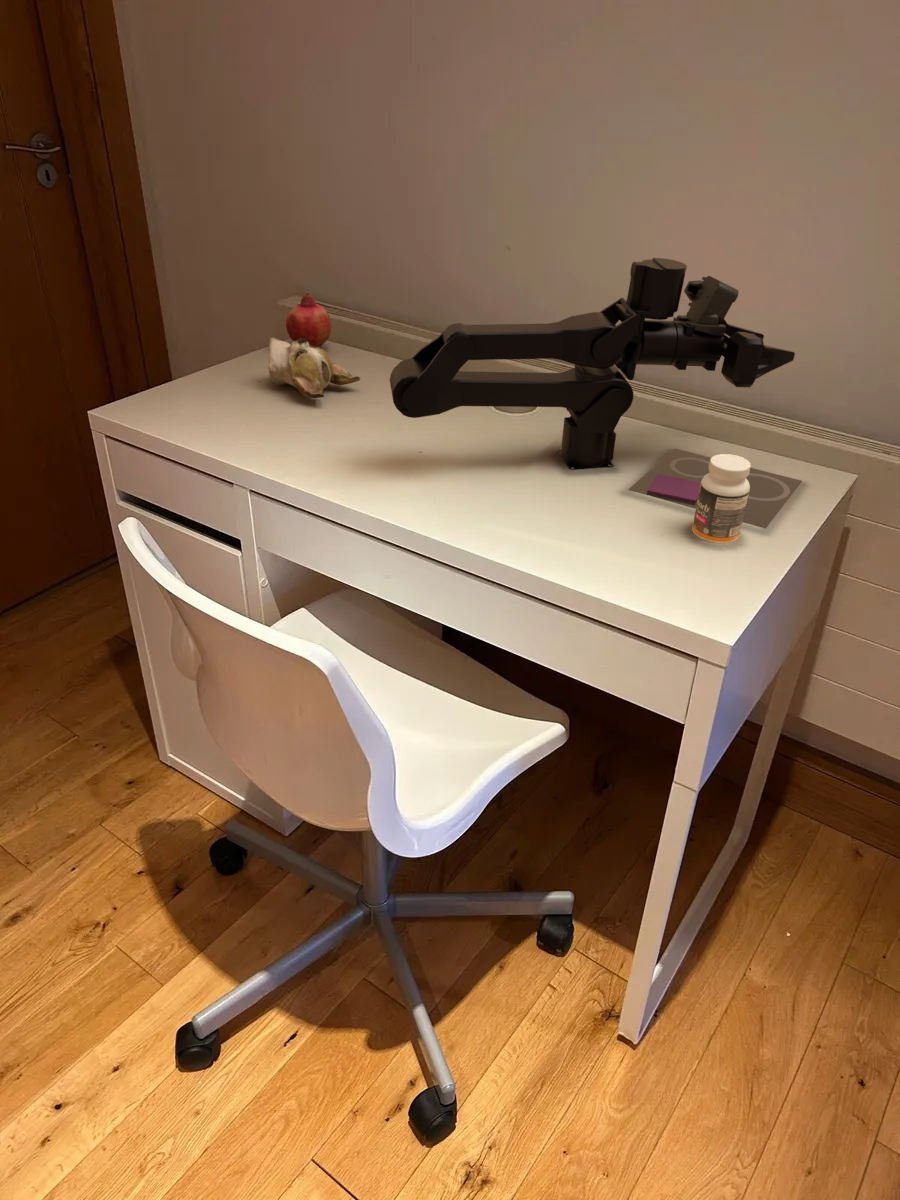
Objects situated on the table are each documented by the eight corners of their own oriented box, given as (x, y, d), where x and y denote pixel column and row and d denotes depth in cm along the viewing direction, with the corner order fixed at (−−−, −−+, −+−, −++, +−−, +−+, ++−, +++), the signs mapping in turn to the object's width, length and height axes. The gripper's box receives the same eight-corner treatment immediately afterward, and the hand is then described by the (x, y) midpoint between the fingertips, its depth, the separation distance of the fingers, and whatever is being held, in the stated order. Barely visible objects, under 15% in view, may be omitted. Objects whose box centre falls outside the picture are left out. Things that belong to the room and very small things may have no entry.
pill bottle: (685, 525, 117) (698, 451, 112) (729, 524, 118) (745, 451, 112) (699, 547, 112) (714, 472, 107) (745, 546, 113) (762, 471, 107)
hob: (764, 532, 116) (765, 528, 116) (627, 493, 124) (627, 489, 124) (801, 484, 128) (802, 480, 127) (673, 451, 136) (674, 447, 136)
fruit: (342, 349, 171) (339, 293, 165) (309, 359, 165) (306, 302, 160) (311, 339, 175) (308, 285, 169) (278, 349, 170) (274, 293, 164)
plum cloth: (695, 503, 121) (695, 500, 121) (646, 492, 123) (647, 490, 123) (704, 486, 125) (705, 483, 125) (657, 476, 127) (657, 473, 127)
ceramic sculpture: (292, 320, 155) (363, 343, 149) (294, 369, 160) (362, 394, 154) (247, 336, 148) (319, 361, 141) (250, 388, 153) (320, 414, 146)
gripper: (709, 296, 112) (828, 301, 115) (655, 266, 128) (761, 271, 131) (690, 387, 118) (804, 390, 120) (641, 347, 133) (743, 351, 136)
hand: (777, 346), depth 127 cm, fingers open, 9 cm apart
